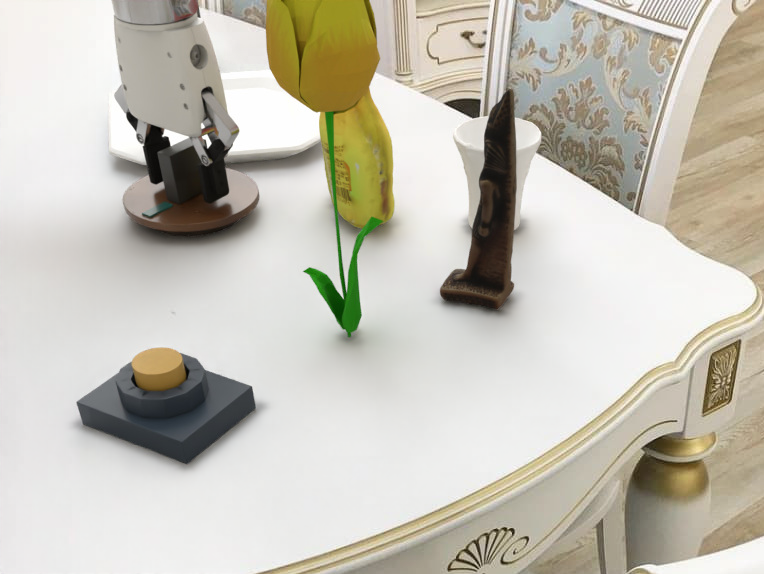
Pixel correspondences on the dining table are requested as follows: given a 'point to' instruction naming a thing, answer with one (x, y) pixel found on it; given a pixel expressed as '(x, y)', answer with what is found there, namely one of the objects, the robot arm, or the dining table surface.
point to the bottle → (360, 163)
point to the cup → (472, 155)
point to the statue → (491, 218)
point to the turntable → (187, 195)
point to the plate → (238, 122)
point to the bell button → (158, 369)
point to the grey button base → (168, 410)
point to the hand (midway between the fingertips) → (189, 187)
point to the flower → (327, 96)
